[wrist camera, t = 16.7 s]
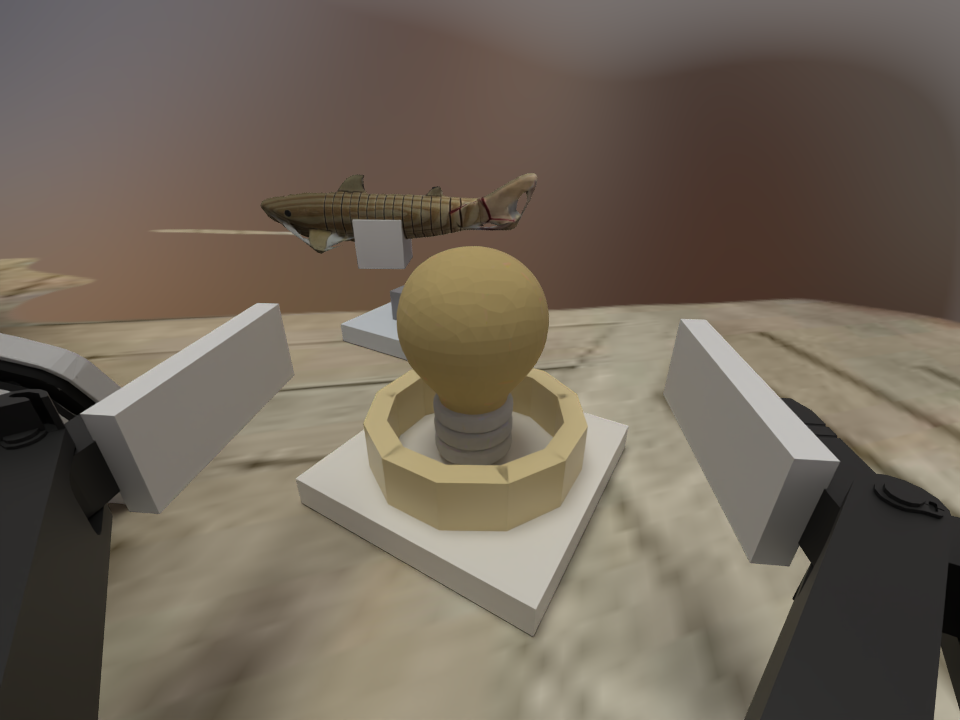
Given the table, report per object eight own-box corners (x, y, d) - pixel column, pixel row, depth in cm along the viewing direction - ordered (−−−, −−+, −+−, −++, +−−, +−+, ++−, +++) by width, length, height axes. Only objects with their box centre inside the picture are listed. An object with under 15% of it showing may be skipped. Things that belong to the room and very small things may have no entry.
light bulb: (558, 484, 20) (582, 264, 15) (415, 508, 18) (394, 276, 14) (515, 407, 25) (524, 229, 21) (403, 422, 24) (386, 235, 19)
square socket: (343, 340, 37) (336, 295, 35) (429, 299, 46) (427, 261, 44) (462, 377, 31) (462, 325, 30) (533, 322, 40) (536, 280, 39)
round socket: (301, 502, 21) (284, 434, 19) (446, 389, 30) (444, 336, 28) (533, 636, 15) (540, 558, 13) (624, 447, 24) (636, 386, 22)
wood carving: (535, 273, 55) (541, 176, 49) (258, 270, 56) (236, 175, 50) (530, 255, 63) (534, 170, 57) (288, 253, 64) (271, 169, 58)
